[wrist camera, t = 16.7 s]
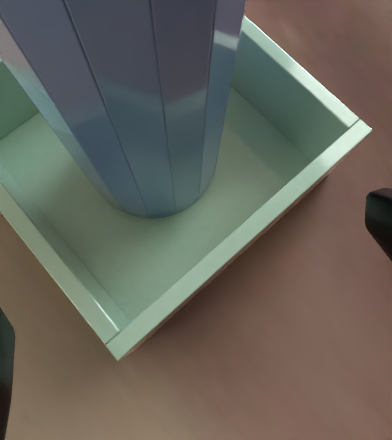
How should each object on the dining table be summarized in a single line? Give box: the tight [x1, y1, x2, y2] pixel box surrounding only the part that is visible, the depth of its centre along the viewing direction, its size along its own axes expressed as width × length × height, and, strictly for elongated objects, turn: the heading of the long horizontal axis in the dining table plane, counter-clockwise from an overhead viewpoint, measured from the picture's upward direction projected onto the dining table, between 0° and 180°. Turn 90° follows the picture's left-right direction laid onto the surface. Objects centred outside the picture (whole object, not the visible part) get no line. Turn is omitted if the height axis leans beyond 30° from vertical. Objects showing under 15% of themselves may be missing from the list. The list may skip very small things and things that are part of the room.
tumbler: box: [0, 0, 247, 218], centre depth 12 cm, size 7×7×13 cm
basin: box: [0, 16, 372, 361], centre depth 17 cm, size 13×13×5 cm
